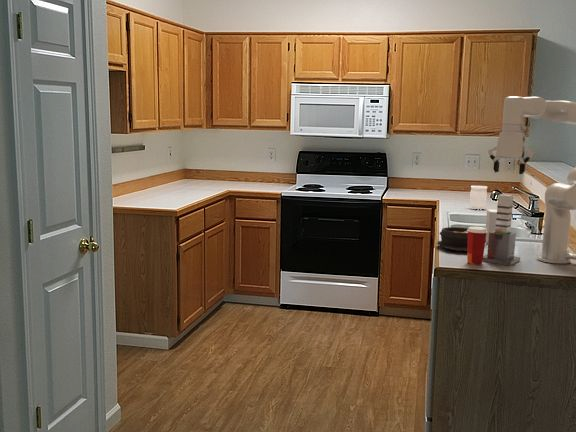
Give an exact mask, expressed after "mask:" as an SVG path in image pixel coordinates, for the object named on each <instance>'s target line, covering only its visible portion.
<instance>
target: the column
mask: <svg viewBox="0 0 576 432" xmlns="http://www.w3.org/2000/svg"><path fill="white" fill-rule="evenodd" d="M513 202H514V194H504V193H501V194H498V196H497V207H496V208H497V209H496V210H497V218H496V230H495V233H499V234H507V235H508V234H510V232H511V228H512V227H511V226H512V214H513V207H514V206H513V204H514V203H513Z"/></svg>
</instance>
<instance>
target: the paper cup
mask: <svg viewBox="0 0 576 432" xmlns="http://www.w3.org/2000/svg"><path fill="white" fill-rule="evenodd" d="M467 228H468V230H467V231H468V247H467V251H466V252H467V254H466V255H467V256H466V258H467V259H466V261H467V264H469V265H474V266H480V265H481V266H482V264H483V262H484V261H483V256H485V255H484V254H485V247H486V234H487V229H486V227H483V226H482V227H481V226H469V227H467Z"/></svg>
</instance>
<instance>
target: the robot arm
mask: <svg viewBox="0 0 576 432" xmlns="http://www.w3.org/2000/svg"><path fill="white" fill-rule="evenodd" d="M524 118H530V119H537V120H542V121H543V120H544V121H550V122H555V123H561V124H562V123H563V124H564V123H565V124H569V125H576V102H575V101H570V100H545V98H543V97H541V96H525V97H523V96H506V97H505V98H504V101H503V114H502V125H501V126H502V127H501V131H500V132H499V134H498V135H499V136H498V138H497V139H498V140H497V143H496V146H495V147H493V148H491V149H489V150H488V151H487V154H488V155H489V158H490V159H491V160H492V162H493V167H492V168H493V171H494V173H499V172H500V160H501V159H503V158H504V159H518V160H519V162H520V163H519V167H518V168H519V170H518V174H519V175H523V174H524V172H525V171H526V165H527V163H528V162H529V161H530V160H531V158H532V157H533V155H534V152H533V151H531V150H530V149H528V148H526V133H525V132H524V131H526V130H527V126H524ZM494 153H495V155H494ZM526 154H527V157H526V158H525V156H526ZM566 182H567V183H563V182H556V183H554V182H553V183H552V184H550V185H548V187H547V188H546V190H545V192H544V204H545V207H544V208H545V215H544V225H543V236H542V243H541V244H542V245H541V254H538V255H537V256H536V259H537V260H538V261H541V262H544V263H549V264H557V265H558V264H559V265H560V264H561V265H562V264H564V265H566V264H570V263H571V260H574V261H576V254H575V253H574V254H572V253H571V252H570V250H568V248H569V239H570V230H571V220H572V218H571V216H572V215H571V211H576V166H575V167H574V168H572V169H571V171H569V172H568V174H567V177H566Z"/></svg>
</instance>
